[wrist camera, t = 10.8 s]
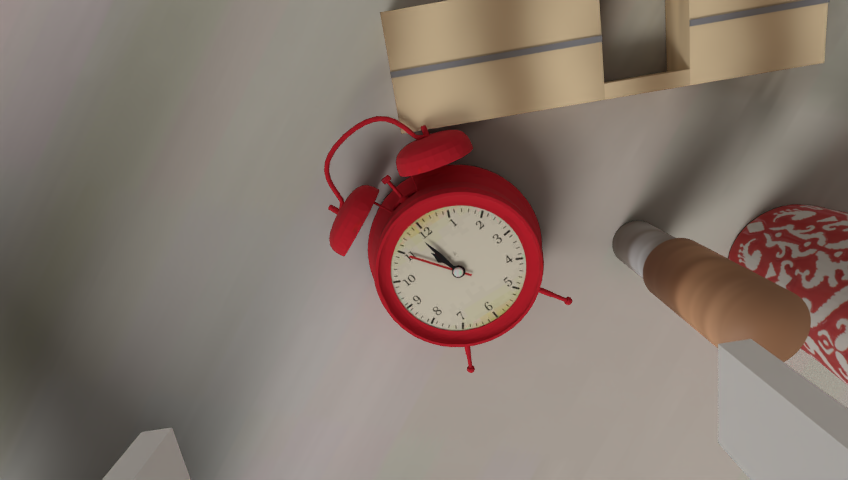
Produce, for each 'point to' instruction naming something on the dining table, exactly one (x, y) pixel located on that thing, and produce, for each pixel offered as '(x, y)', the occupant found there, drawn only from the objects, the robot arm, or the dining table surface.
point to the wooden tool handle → (714, 291)
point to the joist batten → (576, 53)
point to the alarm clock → (446, 243)
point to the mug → (805, 271)
